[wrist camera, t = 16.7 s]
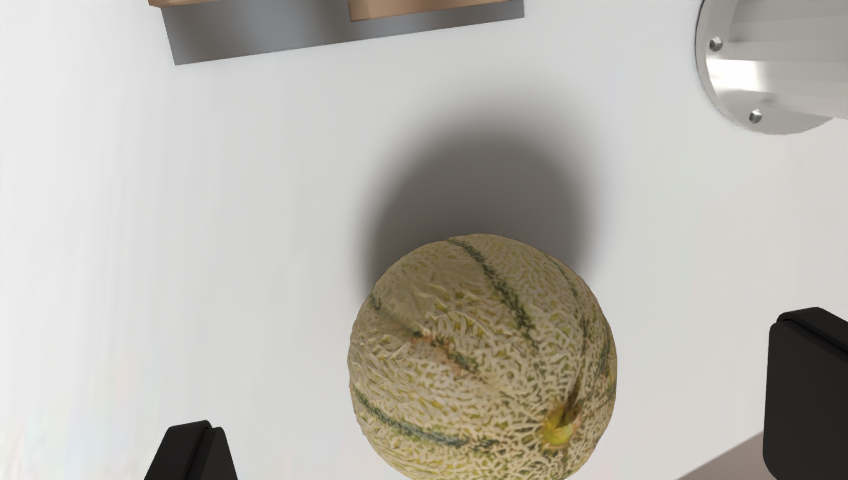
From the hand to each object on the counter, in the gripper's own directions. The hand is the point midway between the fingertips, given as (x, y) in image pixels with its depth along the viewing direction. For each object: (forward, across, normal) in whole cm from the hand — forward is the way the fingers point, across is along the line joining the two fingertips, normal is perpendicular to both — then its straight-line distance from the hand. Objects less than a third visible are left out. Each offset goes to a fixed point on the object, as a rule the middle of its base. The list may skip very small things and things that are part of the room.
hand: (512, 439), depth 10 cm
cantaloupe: (+28, -3, +11) cm, 31 cm away
